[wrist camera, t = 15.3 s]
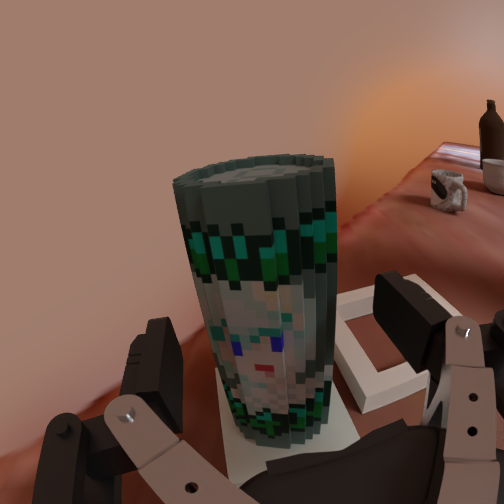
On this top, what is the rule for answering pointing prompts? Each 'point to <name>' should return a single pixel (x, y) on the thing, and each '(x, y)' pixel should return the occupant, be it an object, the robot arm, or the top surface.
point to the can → (267, 286)
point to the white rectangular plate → (253, 457)
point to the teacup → (494, 175)
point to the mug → (448, 191)
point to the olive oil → (491, 134)
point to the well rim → (358, 364)
